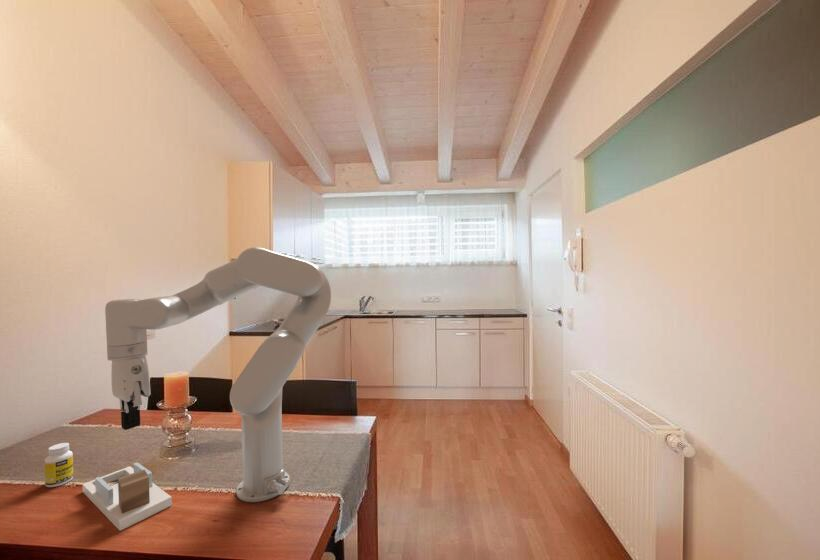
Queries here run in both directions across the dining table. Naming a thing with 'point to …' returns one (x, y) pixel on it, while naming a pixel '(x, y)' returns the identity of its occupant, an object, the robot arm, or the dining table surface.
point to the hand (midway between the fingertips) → (131, 427)
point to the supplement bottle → (58, 465)
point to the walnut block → (133, 491)
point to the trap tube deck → (109, 498)
